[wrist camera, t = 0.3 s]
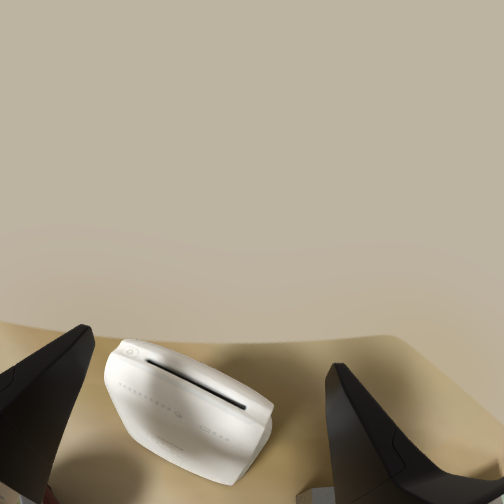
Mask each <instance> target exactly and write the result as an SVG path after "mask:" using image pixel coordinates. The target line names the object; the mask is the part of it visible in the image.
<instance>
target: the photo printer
mask: <svg viewBox="0 0 504 504" xmlns="http://www.w3.org/2000/svg"><path fill="white" fill-rule="evenodd" d="M104 380H105V385H106V387H107V390H108V392H109V394H110V397H111V399H112V401H113V403H114V405H115V407H116V409H117V411H118V413H119V416H120V417H121V420H122V421H123V423H124V425H125V427H126V429H127V431H128V433H129V434H130V435H131V436H132V437H133V438H134V439H135V440H136V441H137V442H138V443H140V444H141V445H142V446H144V447H145V448H147V449H149V450H150V451H152V452H153V453H155V454H157V455H159V456H160V457H162V458H164V459H166V460H168V461H169V462H171V463H173V464H175V465H177V466H179V467H181V468H184V469H186V470H188V471H190V472H192V473H195V474H197V475H199V476H202V477H204V478H207V479H209V480H212V481H214V482H217V483H221V484H225V485H233V484H234V483H235V482H236V481H238V480H239V479H240V478H242V476H243V475H244V474H245V473H246V471H247V470H248V469H249V467H250V466H251V464H252V463H253V462H254V460H255V459H256V457H257V456H258V454H259V453H260V451H261V450H262V448H263V447H264V445H265V444H266V442H267V441H268V439H269V437H270V434H271V430H272V419H271V413H272V411H273V408H274V404H273V403H271V402H270V401H269V400H268V399H266V398H265V397H263V396H262V395H261V394H259V393H258V392H256V391H255V390H253V389H251V388H249V387H248V386H246V385H244V384H242V383H241V382H239V381H237V380H235V379H233V378H231V377H229V376H228V375H226V374H224V373H222V372H220V371H218V370H217V369H215V368H212V367H209V366H207V365H206V364H204V363H202V362H198V361H196V360H194V359H192V358H190V357H188V356H185V355H183V354H181V353H178V352H176V351H173V350H170V349H168V348H165V347H162V346H160V345H157V344H153V343H150V342H146V341H142V340H137V339H124V340H123V341H121V343H120V345H119V346H118V348H117V349H116V350H114V351H113V352H112V353H111V354H110V356H109V358H108V361H107V363H106V367H105V373H104Z"/></svg>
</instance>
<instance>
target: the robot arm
mask: <svg viewBox="0 0 504 504" xmlns="http://www.w3.org/2000/svg"><path fill="white" fill-rule="evenodd" d="M94 348H95V340H94V336H93V332H92V329H91V327H90V326H87V325H84V324H80V325H78V326H77V327H75V328H74V329H72V330H70V331H68V332H67V333H65V334H63V335H62V336H60V337H59V338H57V339H55V340H54V341H52V342H51V343H49V344H47V345H46V346H44V347H43V348H41V349H39V350H38V351H36V352H35V353H33V354H31V355H30V356H28V357H27V358H25V359H23V360H22V361H20V362H19V363H17V364H16V365H15V366H12V367H11V368H9V369H8V370H6V371H4V372H3V373H1V374H0V504H18V499H19V496H20V495H22V496H24V497H25V498H27V499H29V500H30V501H32V502H34V503H36V504H42V501H43V497H44V493H45V490H46V486H47V483H48V479H49V476H50V472H51V469H52V466H53V462H54V459H55V456H56V453H57V450H58V447H59V444H60V441H61V438H62V436H63V433H64V430H65V427H66V425H67V422H68V419H69V417H70V414H71V411H72V409H73V406H74V404H75V401H76V399H77V396H78V394H79V392H80V389H81V387H82V384H83V382H84V379H85V376H86V373H87V370H88V367H89V363H90V360H91V357H92V354H93V351H94ZM325 396H326V423H327V431H328V438H329V447H330V455H331V464H332V473H333V483H334V493H335V504H503V501H502V498H501V496H502V495H503V494H504V477H502V478H500V479H498V480H494V481H487V480H480V479H474V478H468V477H463V476H458V475H453V474H449V473H447V472H445V471H443V470H441V469H440V468H439V467H437V466H436V465H435V464H434V463H433V462H432V461H431V460H430V459H429V458H428V457H427V456H425V455H424V454H423V453H422V452H421V451H420V450H419V449H418V448H417V447H416V446H415V445H414V444H413V443H412V442H411V441H410V440H409V439H408V438H407V437H406V435H405V434H404V433H403V432H402V431H401V430H400V429H399V427H397V425H396V424H395V423H394V422H393V420H392V419H391V418H390V417H389V416H388V414H387V413H386V412H385V411H384V410H383V409H382V407H381V406H380V405H379V404H378V403H377V401H376V400H375V399H374V398H373V397H372V396H371V394H370V393H369V392H368V391H367V390H366V388H365V387H364V386H363V385H362V384H361V383H360V381H359V380H358V379H357V378H356V377H355V375H354V374H353V373H352V372H351V371H350V370H349V368H348V367H347V366H346V365H345V364H344V363H333V364H332V366H331V368H330V370H329V372H328V374H327V376H326V379H325Z"/></svg>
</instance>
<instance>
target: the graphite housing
mask: <svg viewBox="0 0 504 504" xmlns="http://www.w3.org/2000/svg"><path fill="white" fill-rule="evenodd" d="M296 504H335V493H334V486H333V487H321V488H311V489H309V490H307V491H305V492H303V493H301V494H299V495H297V496H296Z"/></svg>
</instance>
